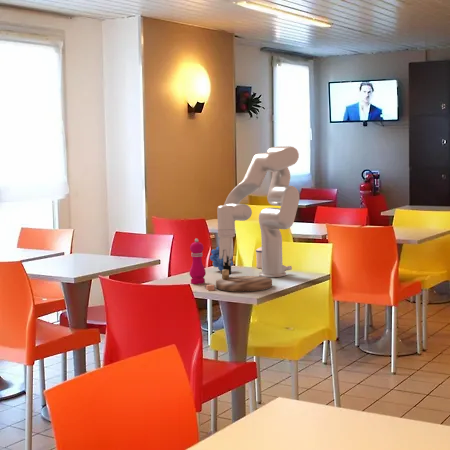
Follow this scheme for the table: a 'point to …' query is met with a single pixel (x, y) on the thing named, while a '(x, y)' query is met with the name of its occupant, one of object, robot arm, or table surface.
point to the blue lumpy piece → (217, 259)
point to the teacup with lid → (259, 257)
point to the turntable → (242, 282)
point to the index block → (209, 287)
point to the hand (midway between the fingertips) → (227, 274)
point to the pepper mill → (197, 263)
